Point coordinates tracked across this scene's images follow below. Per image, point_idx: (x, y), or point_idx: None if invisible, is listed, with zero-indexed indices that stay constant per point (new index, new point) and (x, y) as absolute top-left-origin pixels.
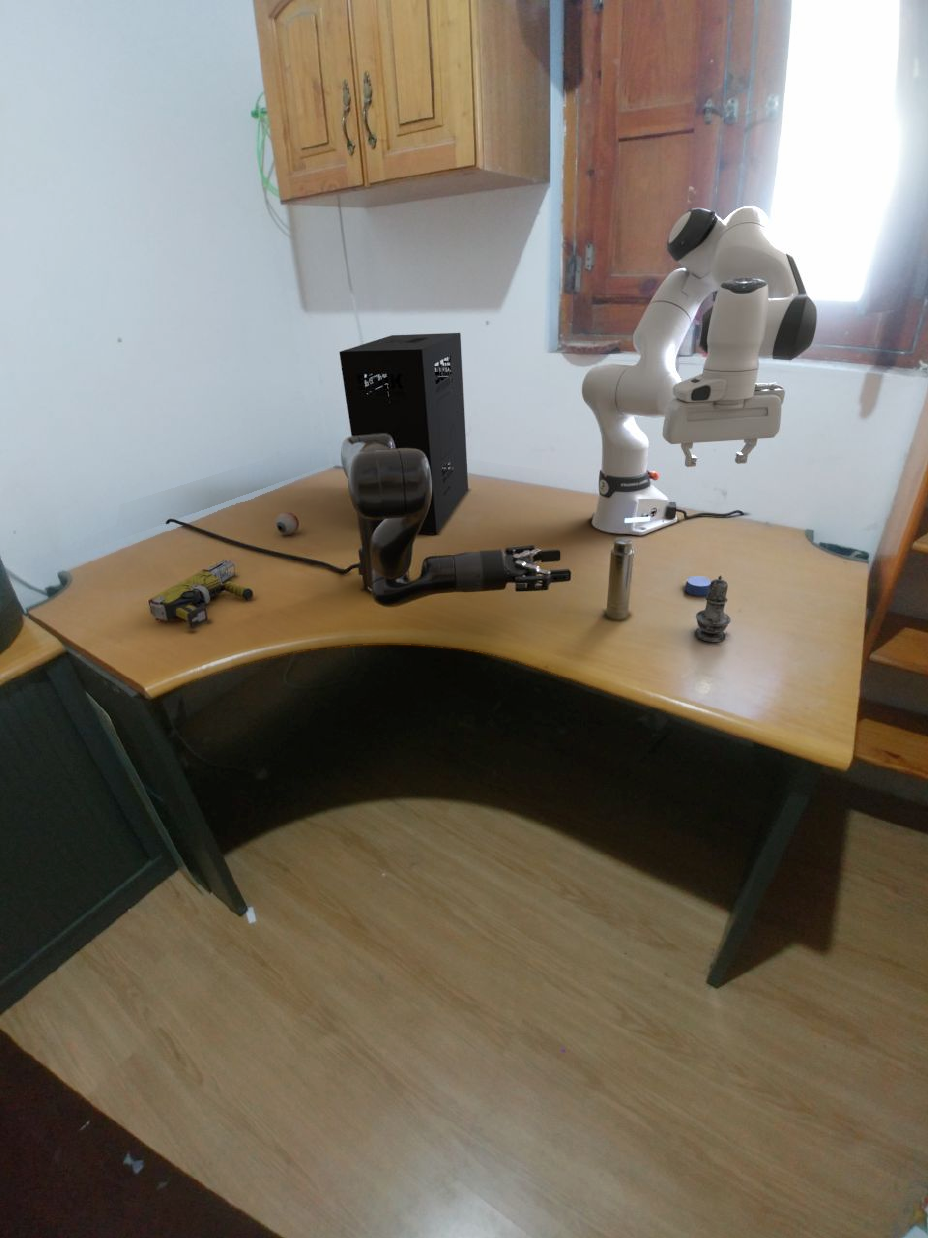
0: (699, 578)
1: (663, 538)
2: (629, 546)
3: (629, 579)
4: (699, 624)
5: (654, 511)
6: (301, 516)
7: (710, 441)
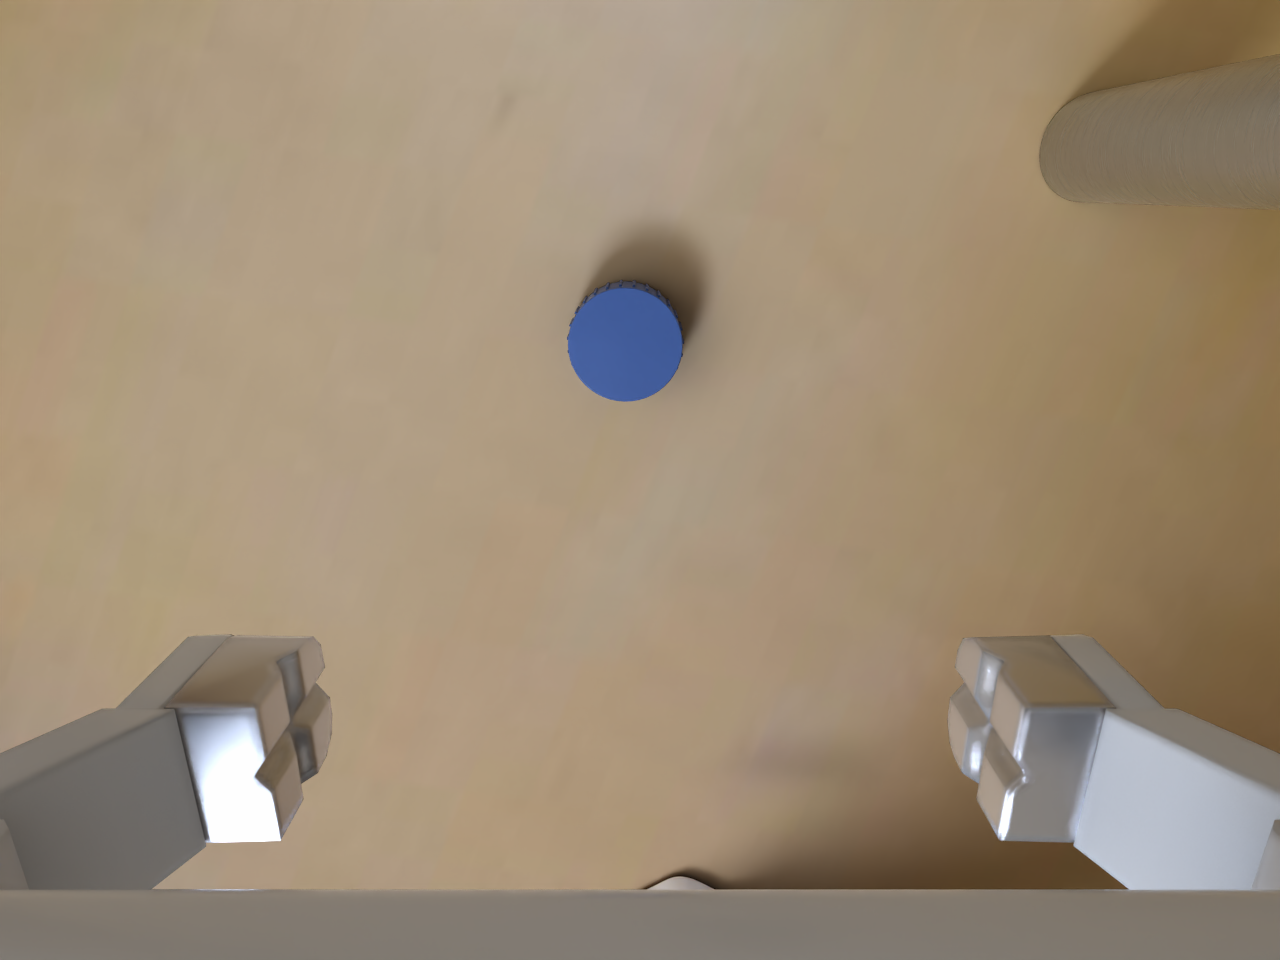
0: (613, 372)
1: (590, 840)
2: None
3: (1202, 79)
4: None
5: None
6: None
7: (972, 891)
